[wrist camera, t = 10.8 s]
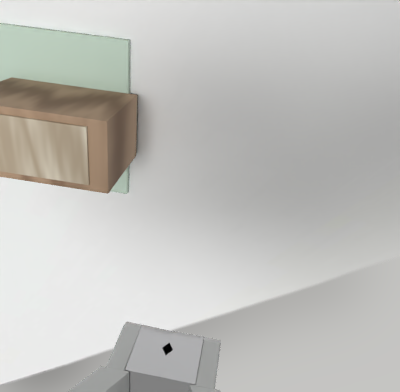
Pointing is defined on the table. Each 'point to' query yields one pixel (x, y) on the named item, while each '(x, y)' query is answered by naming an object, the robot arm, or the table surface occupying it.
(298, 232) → the table surface
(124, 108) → the walnut block
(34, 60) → the green glass pane
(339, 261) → the table surface
